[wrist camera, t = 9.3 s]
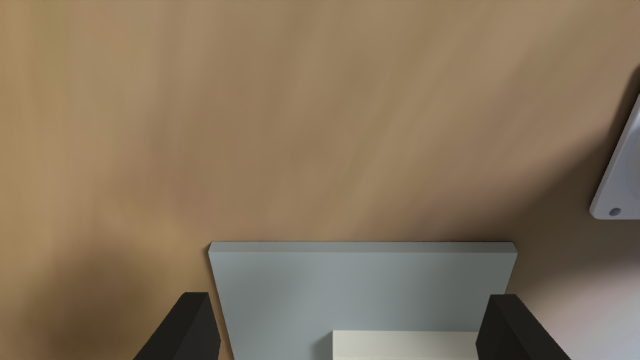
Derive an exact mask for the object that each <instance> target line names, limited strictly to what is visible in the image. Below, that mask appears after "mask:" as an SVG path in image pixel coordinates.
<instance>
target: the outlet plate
mask: <svg viewBox="0 0 640 360" xmlns="http://www.w3.org/2000/svg"><path fill="white" fill-rule="evenodd" d="M208 254H209V258H210V262H211V266H212V270H213V274H214V278H215V282H216V286H217V290H218V294H219V298H220V303H221V307H222V311H223V315H224V319H225V323H226V327H227V331H228V335H229V339H230V343H231V347H232V351H233V355H234V359H235V360H479V359H478V354H477V350H476V345H475V343H476V339H477V336H478V333H479V330H480V327H481V323H482V320H483V317H484V314H485V311H486V307H487V304H488V301H489V298H490V294H504V293H505V290H506V287H507V285H508V282H509V279H510V276H511V273H512V270H513V267H514V264H515V261H516V258H517V255H518V252H517V250H516V248H515V246H514V244H513V242H212V243H211V246H210V248H209V251H208Z"/></svg>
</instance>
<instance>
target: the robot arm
mask: <svg viewBox="0 0 640 360" xmlns="http://www.w3.org/2000/svg"><path fill="white" fill-rule="evenodd" d="M613 208H615V209H614V210H612V209H613ZM611 210H612V211H611ZM589 211H590V213H591V215H592V216H593V217H594V218H596V219H640V94H639V96H638V98H637V101H636V103H635V105H634V108H633V110H632V112H631V114H630V117H629V119H628V121H627V124H626V126H625V128H624V130H623V133H622V135H621V137H620V140H619V142H618V144H617V146H616V149H615V151H614V153H613V156H612V158H611V160H610V162H609V165H608V167H607V169H606V172H605V174H604V176H603V179H602V181H601V183H600V185H599V188H598V190H597V192H596V195H595V197H594V199H593V201H592V204H591V206H590V209H589ZM220 343H221V339H220V336H219V332H218V328H217V324H216V321H215V317H214V313H213V309H212V306H211V302H210V298H209V294H208V292H185V293H184V294H182V295H181V297H180V298H179V299H178V301H177V302H176V304H175V305H174V306H173V308H172V309H171V311H170V312H169V313H168V315H167V316H166V317H165V319H164V320H163V321H162V323H161V324H160V325H159V327H158V328H157V329H156V331H155V332H154V333H153V335H152V336H151V337H150V339H149V340H148V341H147V343H146V344H145V345H144V346H143V348H142V349H141V350H140V351H139V353H138V354H137V355H136V356H135V358H134V359H133V360H218V355H219V349H220ZM475 345H476V350H477V354H478V359H479V360H571V359H570V358H569V357H568V355H567V354H566V353H565V352H564V351H563V350H562V349H561V347H560V346H559V345H558V344H557V343H556V342H555V340H554V339H553V338H552V337H551V336H550V335H549V333H548V332H547V331H546V330H545V329H544V328H543V326H542V325H541V324H540V323H539V322H538V320H537V319H536V318H535V317H534V316H533V314H532V313H531V312H530V311H529V310H528V308H527V307H526V306H525V305H524V304H523V303H522V301H521V300H520V299H519V298H518V297H517V296H516V295H515V294H490V298H489V301H488V304H487V307H486V311H485V314H484V317H483V320H482V323H481V327H480V330H479V333H478V336H477V339H476V343H475Z"/></svg>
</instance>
